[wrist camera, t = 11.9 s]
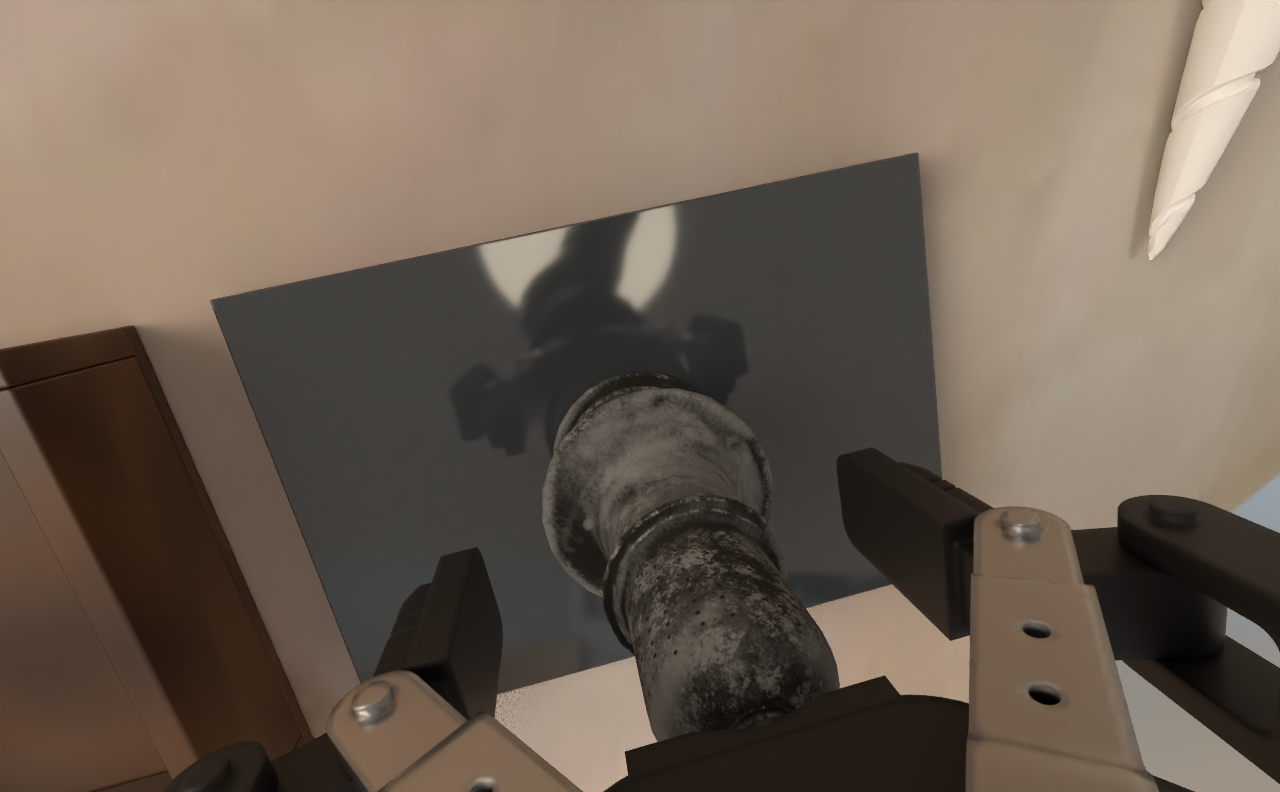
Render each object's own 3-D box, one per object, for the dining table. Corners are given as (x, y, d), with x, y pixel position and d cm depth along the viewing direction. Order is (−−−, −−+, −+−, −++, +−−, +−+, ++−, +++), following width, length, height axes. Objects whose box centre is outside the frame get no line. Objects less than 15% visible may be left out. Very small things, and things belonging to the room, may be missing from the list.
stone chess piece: (763, 404, 19) (1117, 659, 7) (684, 566, 19) (882, 1028, 8) (588, 330, 17) (668, 496, 6) (513, 508, 18) (449, 962, 7)
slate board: (231, 296, 17) (208, 300, 16) (895, 157, 19) (919, 151, 17) (387, 701, 20) (378, 728, 19) (928, 552, 22) (949, 569, 21)
